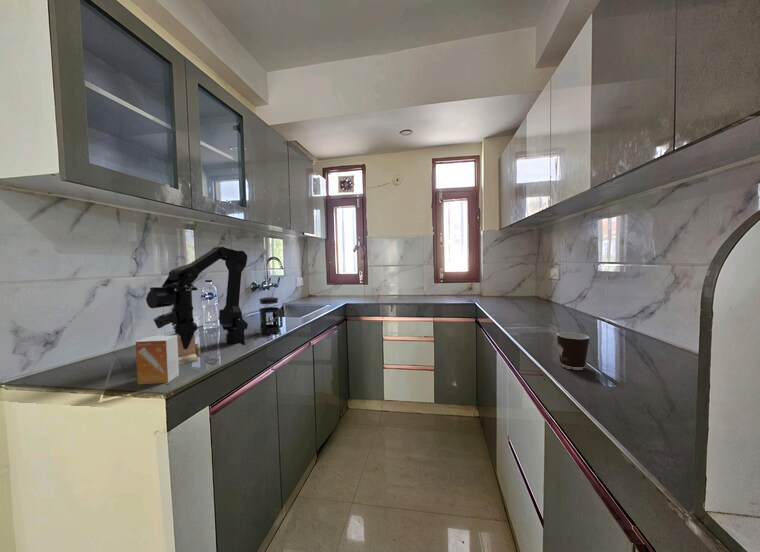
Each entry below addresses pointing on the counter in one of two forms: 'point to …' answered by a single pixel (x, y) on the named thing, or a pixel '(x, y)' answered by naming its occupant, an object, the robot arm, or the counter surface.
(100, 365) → the counter surface
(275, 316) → the french press
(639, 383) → the counter surface
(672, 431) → the counter surface
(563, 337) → the coffee mug
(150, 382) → the small box
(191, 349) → the salmon pink block
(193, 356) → the offcut top
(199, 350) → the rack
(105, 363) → the counter surface
